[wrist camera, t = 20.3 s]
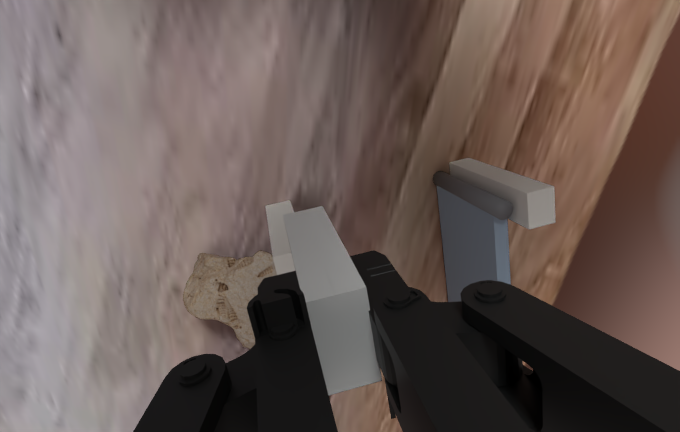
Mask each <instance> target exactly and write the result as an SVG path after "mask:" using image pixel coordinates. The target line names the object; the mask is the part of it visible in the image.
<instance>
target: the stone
mask: <svg viewBox="0 0 680 432" xmlns="http://www.w3.org/2000/svg"><path fill="white" fill-rule="evenodd" d="M275 275H277V272H276V268H275V265H274V261H273V256H272V255H271V254H270V253H268V252H265V251H261V250H260V251H258V252H257V253H255V254H254V257H244V258H239V259H238V260H237V259H235V258H231V257H220V256H218V255H212V254H206V253H201V254H199V255H198V260H197V262H196V263H195V266H194V271H193V274H192V275H191V276H190V278H189V280H188V281H187V283H186V288H185V290H184V294H183V301H184V305H185V307H186V308H187V310H188V312H189V313H190V314H192V315H193V316H195V317H196V318H199V319H207V320H208V319H213V320H218V321H220V322H222V323H224V324H226V325H228V326H230V327H231V328H233V330H234V332H235V334H236V337H237V339H238V340H239V341H240V342H241V344H242V345H243V347H246V348H249V350H250V349H251V348H252V347H253V346H254V345H255V337H254V333H253V329H252V326H251V322H250V319H249V315H248V311H247V306H248V303H249V301H250V300H251V299H252V298H253V297H254V296H256V295H258V286H259V285H260V283H261V282H262V280H263V279H264V278H267V277H271V276H275Z"/></svg>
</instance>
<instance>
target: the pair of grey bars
mask: <svg viewBox="0 0 680 432" xmlns="http://www.w3.org/2000/svg"><path fill="white" fill-rule="evenodd" d="M449 168H450V175H452V176H454V177H456V178H458V179H460V180H463V181H465V182H467V183H469V184H472V185H474V186H476V187H478V188H480V189H483V190H485V191H487V192H489V193H491V194H494V195H496V196H498V197H500V198H502V199H505V200H507V201H509V202H511V204H512V205H513V212H512V214H511V216H510V217H509V218H508V219H510V220H512V221H514V222H516V223H517V224H519V225H521V226H523V227H525V228H527V229H533V228H537V227H540V226H544V225H548V224H552V223H556V222H555V193H554V186H552V185H549V184H546V183H543V182H540V181H537V180H534V179H531V178H528V177H525V176H522V175H519V174H516V173H513V172H510V171H507V170H504V169H501V168H498V167H495V166H492V165H489V164H486V163H483V162H480V161H477V160H474V159H471V158H465V159H461V160H457V161H453V162H449ZM265 207H266V214H267V221H268V228H269V235H270V242H271V249H272V256H273V261H274V265H275V268H276V272H277V275H280V274H284V273H288V272H292V271H295V267H294V262H293V258H292V254H291V249H290V245H289V240H288V236H287V232H286V227H285V223H284V218H283V215H284V214H289V213H293V212H294V210H293V208H292V205H291V202H290V200H288V201H283V202H279V203H275V204H271V205H266V206H265Z"/></svg>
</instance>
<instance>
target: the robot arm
mask: <svg viewBox="0 0 680 432" xmlns="http://www.w3.org/2000/svg"><path fill="white" fill-rule="evenodd" d="M283 218H284V223H285V227H286V232H287V236H288V240H289V245H290V249H291V254H292V258H293V262H294V267H295V271H292V272H288V273H284V274H280V275H275V276H271V277H267V278H264V279H263V280H262V282H261V283H260V285H259V286H258V295H256V296H254V297H253V298H252V299H251V300H250V301H249V303H248V306H247V311H248V315H249V319H250V322H251V326H252V329H253V333H254V337H255V345H254V346H253V347H252V348H251V349H250V350H249V351H247V352H246V353H245V354H243V355H242V356H240V357H238V358H236V359H234V360H232V361H230V362H228V363H225V361H224V360H223V358H222V357H220V356H218V355H216V354H203V355H198V356H194V357H191V358H189V359H187V360H185V361H183V362H181V363H180V364H178V365H177V366H176V367H174V368H173V369H172V370H171V371H170V372H169V373H168V375H167V376H166V377H165V379H164V380H163V382H162V384H161V385H160V387H159V389H158V391H157V392H156V394H155V396H154V397H153V399H152V401H151V402H150V404H149V406H148V408H147V409H146V411H145V413H144V414H143V416H142V418H141V419H140V421H139V423H138V425H137V426H136V428H135V430H134V431H133V432H338V431H337V427H336V423H335V419H334V415H333V411H332V407H331V403H330V399H329V395H332V394H336V393H339V392H343V391H347V390H350V389H354V388H357V387H361V386H364V385H368V384H372V383H375V382H379V381H382V378H381V372H380V368H381V370H382V373H383V375H384V377H385V383H386V389H387V395H388V402H389V408H390V414H391V419H393V418H396V416H397V419H398V421H399V423H400V426H401V428H402V430H403V432H680V371H678V370H676V369H674V368H672V367H670V366H669V365H667V364H665V363H663V362H661V361H659V360H657V359H655V358H653V357H651V356H649V355H647V354H645V353H643V352H641V351H639V350H637V349H635V348H633V347H631V346H629V345H628V344H625V343H624V342H622V341H620V340H618V339H616V338H614V337H612V336H610V335H608V334H606V333H604V332H602V331H600V330H598V329H596V328H594V327H592V326H590V325H588V324H587V323H585V322H583V321H581V320H579V319H577V318H575V317H573V316H571V315H569V314H567V313H565V312H563V311H561V310H559V309H557V308H555V307H553V306H551V305H549V304H547V303H546V302H544V301H542V300H540V299H538V298H536V297H534V296H532V295H530V294H528V293H526V292H524V291H522V290H520V289H518V288H516V287H514V286H512V285H510V284H507V283H504V282H500V281H493V280H486V281H485V280H483V281H479V282H475V283H472V284H469V285H468V286H466V287H465V288H463V290H462V292H461V293H460V294H461V301H458V302H431V301H430V300H429V299H428V297H427V296H426V295H425V294H424V293H423V292H421V291H420V290H418V289H414V288H411V287H408V286H407V285H406V283H405V282H404V281H403V279H402V278H401V277H400V275H399V274H398V272H397V271H395V268H394V267H393V266H392V264H391V263H390V261H389V260H388V259H387V257H386V256H385V255H383V254H381V253H378V252H376V251H370V252H366V253H362V254H358V255H353V256H349V254H348V252H347V250H346V249H345V247H344V245H343V243H342V241H341V239H340V238H339V236H338V234H337V232H336V230H335V228H334V226H333V225H332V223H331V221H330V219H329V217H328V215H327V214H326V212H325V210H324V208H323V206H320V207H316V208H311V209H307V210H302V211H298V212H293V213H289V214H284V215H283ZM522 360H523V361H524V362H525V363H527V364H528V365H529V366H530V367H532V368H533V371H532V370H530V369H528V368H527V367H525V366H524V365H522ZM395 414H396V416H395Z"/></svg>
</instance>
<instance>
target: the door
mask: <svg viewBox="0 0 680 432" xmlns="http://www.w3.org/2000/svg"><path fill="white" fill-rule="evenodd" d="M433 182H434V184H435V185H437V195H438V205H439V214H440V224H441V234H442V244H443V254H444V264H445V274H446V284H447V294H448V302H458V301H461V294H460V293H461V292H462V290H463V288H465V287H466V286H468V285H469V284H472V283H475V282H479V281H483V280H485V281H486V280H493V281H500V282H504V283H507V284H510V285H511V282H510V262H509V242H508V222H507V218H509V217H510V216H511V214H512V212H513V205H512V204H511V202H509V201H507V200H505V199H502V198H500V197H498V196H496V195H494V194H491V193H489V192H487V191H485V190H483V189H480V188H478V187H476V186H474V185H472V184H469V183H467V182H465V181H463V180H460V179H458V178H456V177H454V176H452V175H449V174H447V173H445V172H443V171H438V172H436V173H435V174H434V176H433Z"/></svg>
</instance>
